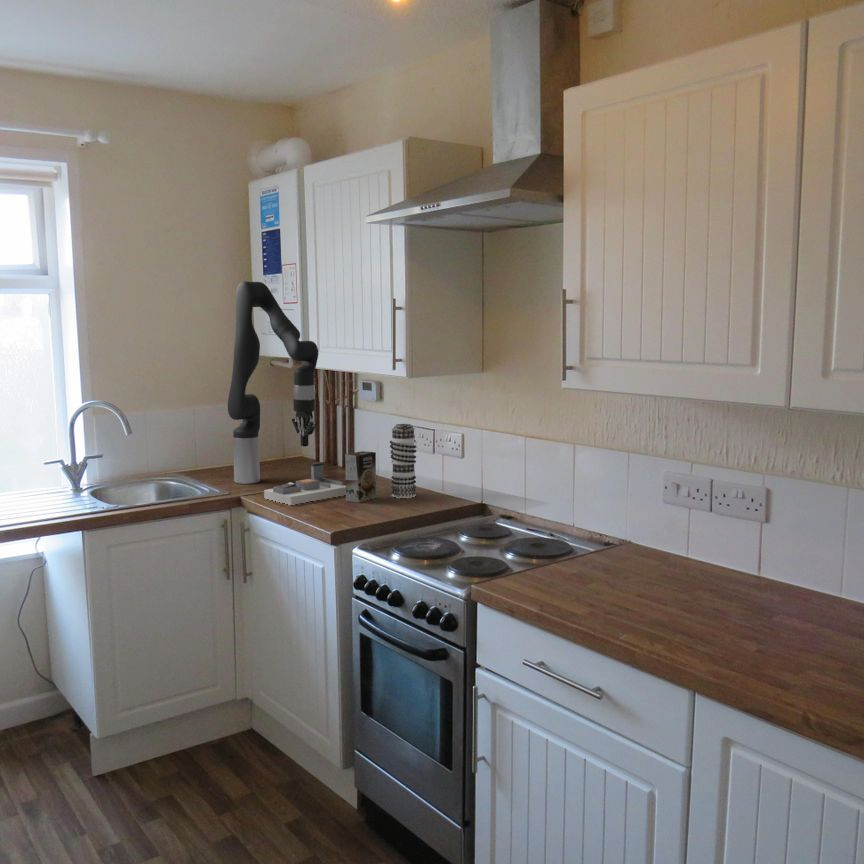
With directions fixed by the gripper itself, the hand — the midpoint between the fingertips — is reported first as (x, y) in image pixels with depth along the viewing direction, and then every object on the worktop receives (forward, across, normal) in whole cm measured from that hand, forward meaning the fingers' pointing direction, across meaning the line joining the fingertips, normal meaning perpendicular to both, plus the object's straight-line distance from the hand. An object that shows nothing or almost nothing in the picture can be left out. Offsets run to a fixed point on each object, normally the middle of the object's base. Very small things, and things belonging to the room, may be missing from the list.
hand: (304, 446), depth 304 cm
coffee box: (+16, +26, +5) cm, 31 cm away
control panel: (+16, +10, -5) cm, 19 cm away
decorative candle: (+16, +32, +19) cm, 40 cm away
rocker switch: (+12, +10, -14) cm, 21 cm away
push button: (+13, +10, -5) cm, 17 cm away
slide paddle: (+13, +3, +3) cm, 14 cm away
